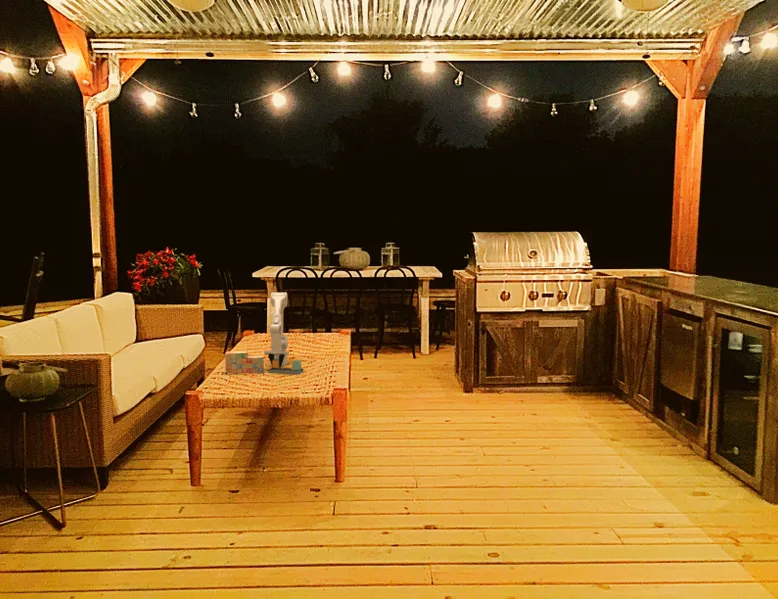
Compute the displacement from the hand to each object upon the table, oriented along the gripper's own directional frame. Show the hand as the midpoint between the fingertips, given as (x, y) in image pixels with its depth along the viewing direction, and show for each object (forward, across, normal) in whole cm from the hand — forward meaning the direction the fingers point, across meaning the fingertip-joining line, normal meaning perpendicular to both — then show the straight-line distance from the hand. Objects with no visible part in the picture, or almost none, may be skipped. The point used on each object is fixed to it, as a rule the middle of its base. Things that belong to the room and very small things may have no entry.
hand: (276, 366), depth 380 cm
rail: (+2, +8, -8) cm, 11 cm away
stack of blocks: (+2, -16, -10) cm, 19 cm away
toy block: (+2, 0, 0) cm, 2 cm away
